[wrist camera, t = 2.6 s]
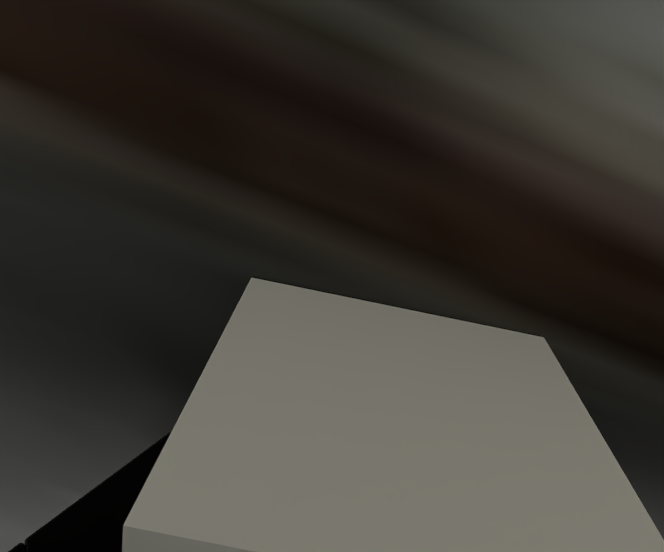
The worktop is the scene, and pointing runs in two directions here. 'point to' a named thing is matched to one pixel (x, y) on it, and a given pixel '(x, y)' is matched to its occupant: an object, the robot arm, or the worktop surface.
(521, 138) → the worktop surface
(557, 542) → the cream cube
